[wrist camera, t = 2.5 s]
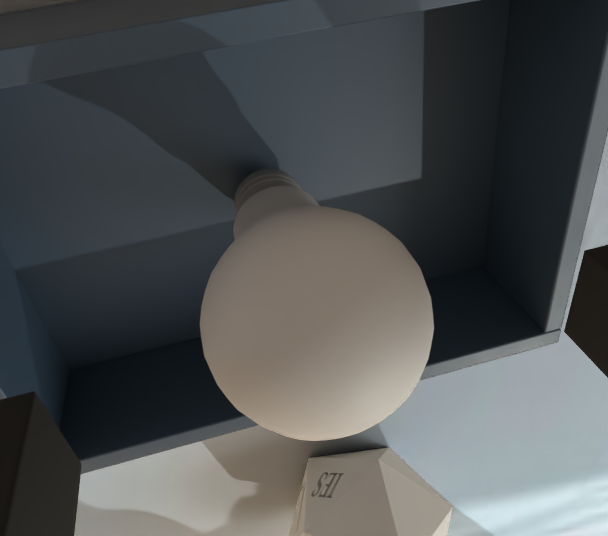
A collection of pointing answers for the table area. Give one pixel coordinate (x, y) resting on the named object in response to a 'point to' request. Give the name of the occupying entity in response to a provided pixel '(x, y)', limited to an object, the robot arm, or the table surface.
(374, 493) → the die
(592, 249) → the robot arm
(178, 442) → the tote
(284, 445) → the table surface
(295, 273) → the lightbulb
